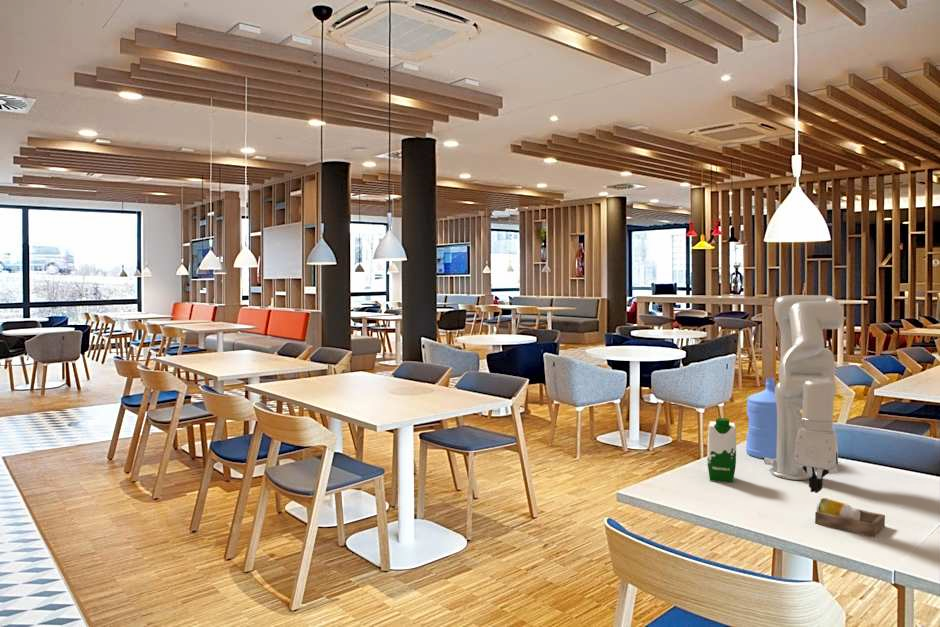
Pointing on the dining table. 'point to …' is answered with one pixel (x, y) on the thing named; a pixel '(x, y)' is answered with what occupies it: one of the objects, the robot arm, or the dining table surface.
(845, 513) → the supplement bottle
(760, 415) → the water jug
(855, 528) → the u rest
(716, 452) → the milk carton
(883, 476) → the dining table surface
